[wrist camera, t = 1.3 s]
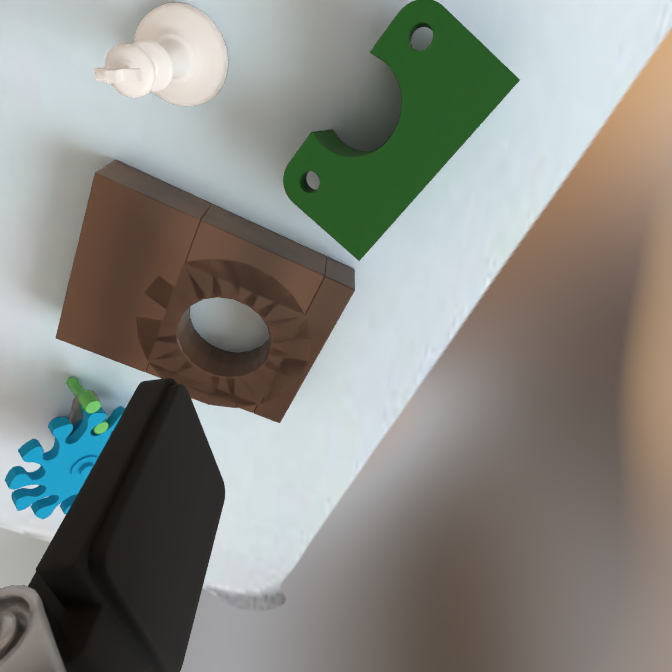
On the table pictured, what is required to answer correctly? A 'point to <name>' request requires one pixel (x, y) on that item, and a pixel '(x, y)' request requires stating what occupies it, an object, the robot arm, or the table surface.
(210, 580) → the table surface
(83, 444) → the blue slotted cogwheel
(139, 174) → the pad
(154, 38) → the chess piece
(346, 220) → the clamp
